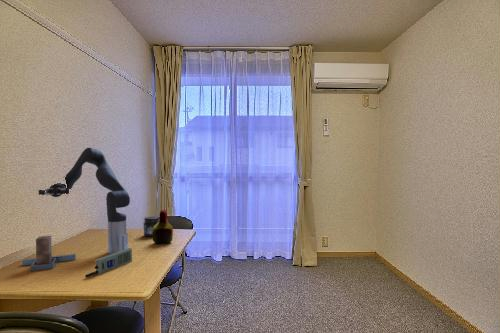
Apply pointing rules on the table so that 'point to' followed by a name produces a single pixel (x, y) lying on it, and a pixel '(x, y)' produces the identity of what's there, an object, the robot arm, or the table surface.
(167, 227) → the bottle
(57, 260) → the keeper
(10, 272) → the table surface
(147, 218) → the supplement container
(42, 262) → the block
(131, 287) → the table surface
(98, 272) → the handheld radio
